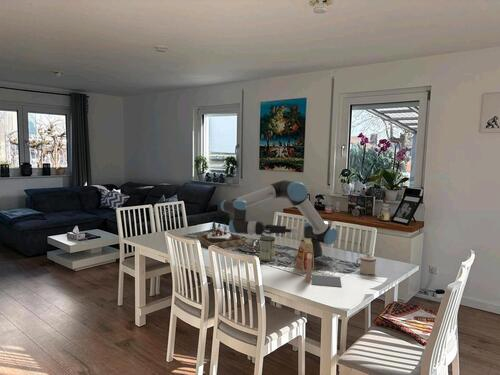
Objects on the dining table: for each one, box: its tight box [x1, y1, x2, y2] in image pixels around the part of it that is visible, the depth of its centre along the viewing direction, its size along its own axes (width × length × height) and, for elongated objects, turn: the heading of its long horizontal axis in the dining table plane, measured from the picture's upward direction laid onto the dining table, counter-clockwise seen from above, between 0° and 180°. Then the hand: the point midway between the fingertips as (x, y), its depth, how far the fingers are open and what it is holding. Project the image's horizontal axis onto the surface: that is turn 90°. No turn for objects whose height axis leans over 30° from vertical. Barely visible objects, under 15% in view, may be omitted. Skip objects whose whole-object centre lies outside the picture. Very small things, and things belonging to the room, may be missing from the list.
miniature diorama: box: [206, 220, 233, 243], centre depth 290 cm, size 20×20×17 cm
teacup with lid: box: [356, 253, 377, 275], centre depth 228 cm, size 12×9×12 cm
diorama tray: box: [196, 231, 246, 249], centre depth 291 cm, size 28×28×4 cm
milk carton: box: [294, 236, 315, 272], centre depth 232 cm, size 9×9×20 cm
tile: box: [305, 253, 313, 284], centre depth 212 cm, size 3×10×14 cm, turn 169°
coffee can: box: [259, 235, 276, 262], centre depth 251 cm, size 10×10×14 cm
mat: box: [311, 274, 342, 288], centre depth 211 cm, size 16×15×1 cm
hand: (297, 230), depth 211 cm, fingers closed
